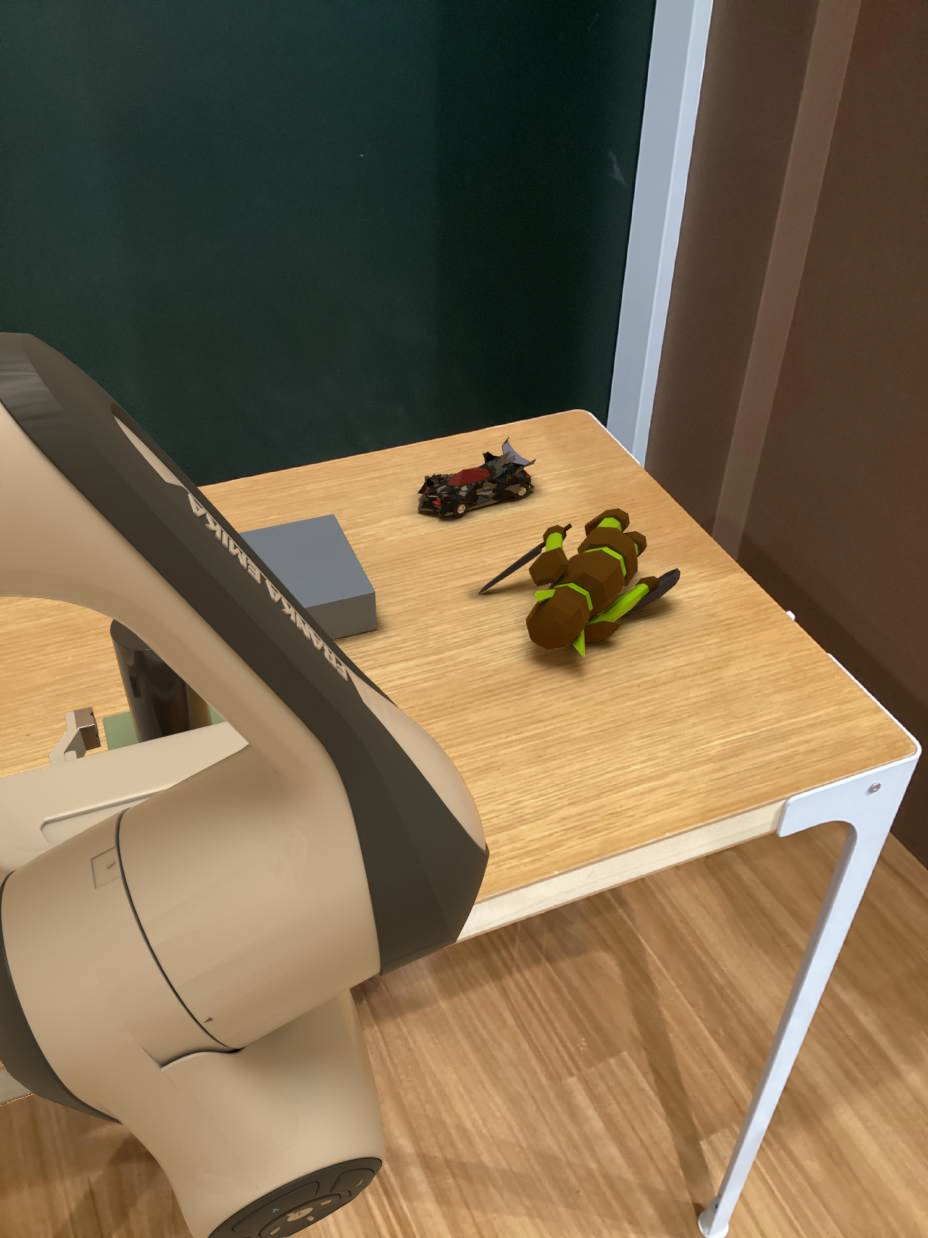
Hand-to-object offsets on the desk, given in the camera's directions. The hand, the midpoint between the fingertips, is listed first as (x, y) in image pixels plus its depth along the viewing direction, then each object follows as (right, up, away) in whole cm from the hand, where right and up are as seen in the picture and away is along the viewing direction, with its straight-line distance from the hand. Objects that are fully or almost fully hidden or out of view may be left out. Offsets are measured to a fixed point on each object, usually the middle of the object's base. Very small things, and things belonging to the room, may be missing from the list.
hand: (166, 697), depth 61 cm
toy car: (+18, +16, +44) cm, 50 cm away
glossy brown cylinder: (0, -3, +3) cm, 5 cm away
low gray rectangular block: (+2, +6, +30) cm, 31 cm away
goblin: (+26, +5, +30) cm, 40 cm away
